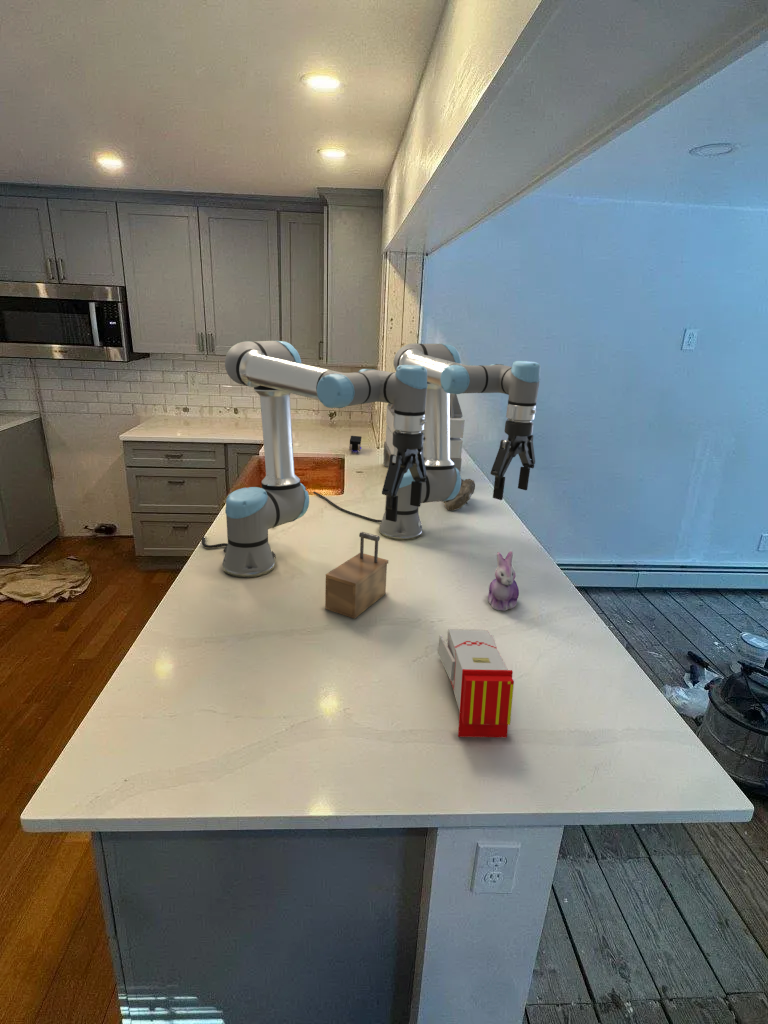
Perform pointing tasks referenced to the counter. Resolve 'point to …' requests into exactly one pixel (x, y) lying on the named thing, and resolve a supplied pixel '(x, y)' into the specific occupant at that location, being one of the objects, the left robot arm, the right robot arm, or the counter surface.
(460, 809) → the counter surface
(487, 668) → the toy
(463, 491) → the fossil
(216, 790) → the counter surface
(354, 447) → the figurine character
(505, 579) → the figurine
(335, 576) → the door
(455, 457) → the white wooden crate
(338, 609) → the chest
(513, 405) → the right robot arm
